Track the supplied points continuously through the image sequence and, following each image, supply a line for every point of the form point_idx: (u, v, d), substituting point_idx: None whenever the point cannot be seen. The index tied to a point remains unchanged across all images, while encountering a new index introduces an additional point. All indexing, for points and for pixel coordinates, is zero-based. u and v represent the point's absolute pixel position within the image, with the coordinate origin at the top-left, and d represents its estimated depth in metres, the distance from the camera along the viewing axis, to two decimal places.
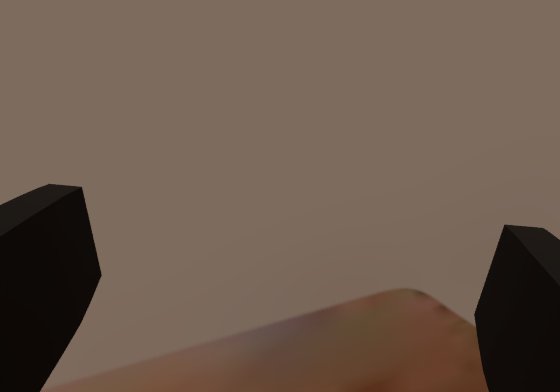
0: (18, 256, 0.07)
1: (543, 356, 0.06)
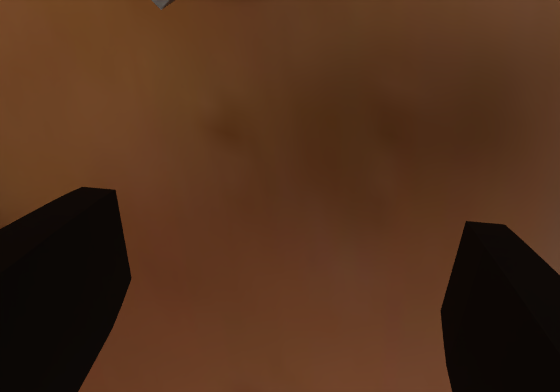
0: (58, 260, 0.07)
1: (495, 351, 0.06)
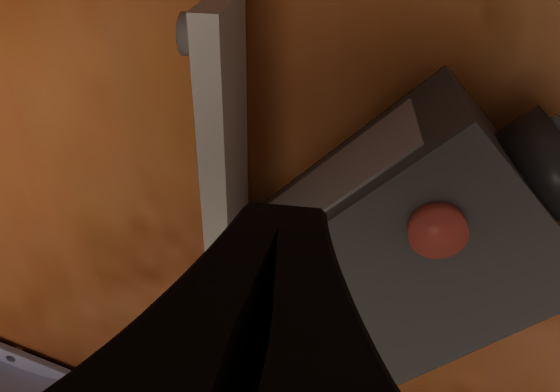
0: (264, 281, 0.07)
1: None
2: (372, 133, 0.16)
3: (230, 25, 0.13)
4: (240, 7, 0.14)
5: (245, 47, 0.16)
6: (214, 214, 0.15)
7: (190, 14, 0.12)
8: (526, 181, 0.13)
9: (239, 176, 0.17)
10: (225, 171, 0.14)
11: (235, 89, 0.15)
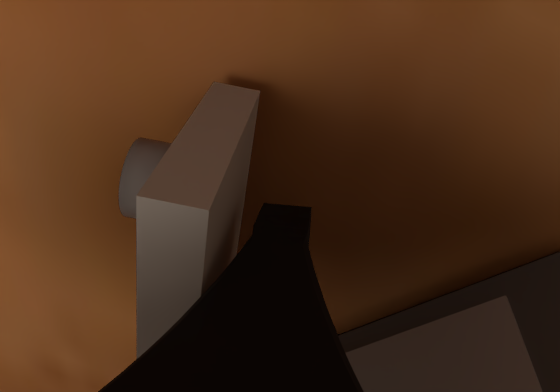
0: None
1: None
2: (437, 341, 0.10)
3: (229, 189, 0.07)
4: (249, 133, 0.08)
5: (246, 181, 0.09)
6: None
7: (145, 200, 0.05)
8: None
9: None
10: None
11: None
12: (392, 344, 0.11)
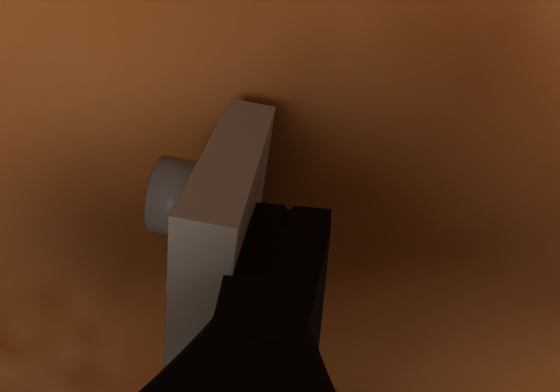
0: (320, 287, 0.07)
1: None
2: None
3: (250, 205, 0.07)
4: (266, 149, 0.08)
5: (261, 193, 0.09)
6: None
7: (177, 220, 0.06)
8: None
9: None
10: None
11: None
12: None
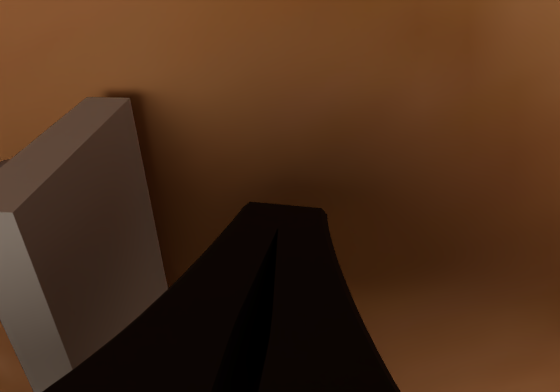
0: (265, 281, 0.07)
1: None
2: None
3: (78, 193, 0.07)
4: (115, 139, 0.08)
5: (145, 186, 0.10)
6: None
7: None
8: None
9: None
10: None
11: (117, 277, 0.08)
12: None
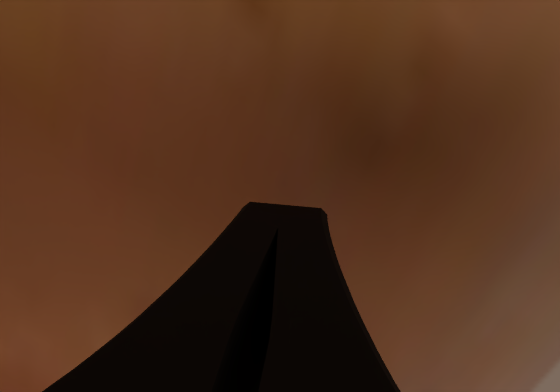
0: (265, 281, 0.07)
1: None
2: None
3: None
4: None
5: None
6: None
7: None
8: None
9: None
10: None
11: None
12: None
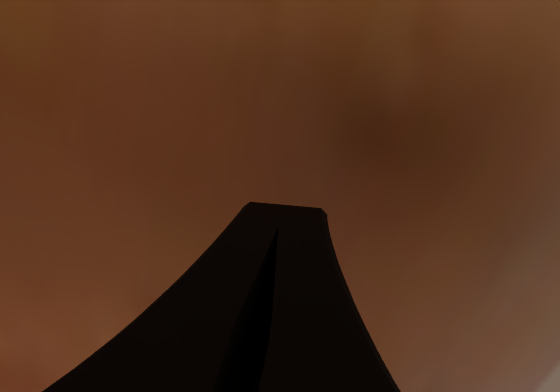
0: (265, 281, 0.07)
1: None
2: None
3: None
4: None
5: None
6: None
7: None
8: None
9: None
10: None
11: None
12: None
